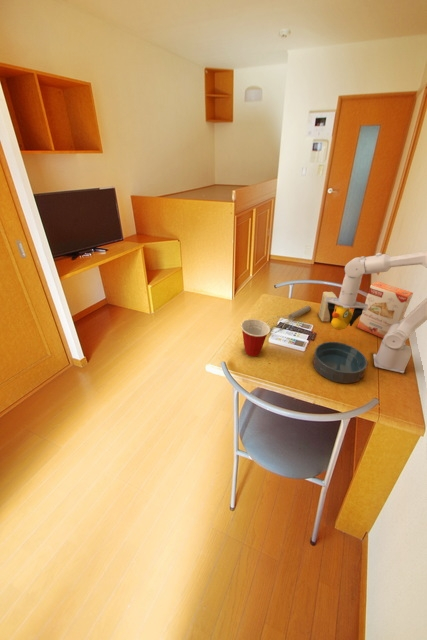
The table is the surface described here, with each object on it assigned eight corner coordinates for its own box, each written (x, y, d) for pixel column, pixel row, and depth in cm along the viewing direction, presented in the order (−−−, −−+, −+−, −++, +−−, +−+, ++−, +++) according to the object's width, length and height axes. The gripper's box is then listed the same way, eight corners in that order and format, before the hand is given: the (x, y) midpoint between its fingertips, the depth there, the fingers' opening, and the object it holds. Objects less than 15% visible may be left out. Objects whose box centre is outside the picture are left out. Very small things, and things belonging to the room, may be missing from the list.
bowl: (362, 358, 109) (366, 348, 106) (364, 389, 95) (368, 378, 93) (314, 348, 114) (317, 337, 112) (310, 376, 101) (312, 365, 98)
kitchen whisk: (316, 311, 139) (318, 299, 136) (272, 339, 120) (274, 326, 116) (305, 306, 143) (307, 295, 139) (261, 333, 123) (262, 320, 120)
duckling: (334, 336, 108) (340, 313, 103) (322, 329, 112) (328, 306, 107) (353, 327, 113) (360, 305, 108) (341, 321, 117) (348, 299, 112)
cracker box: (356, 328, 127) (370, 284, 116) (362, 323, 130) (376, 280, 119) (389, 342, 118) (408, 296, 107) (395, 336, 121) (414, 291, 110)
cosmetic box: (331, 322, 131) (337, 297, 124) (322, 321, 131) (327, 297, 124) (327, 314, 136) (333, 291, 130) (317, 314, 136) (323, 291, 130)
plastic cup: (262, 364, 106) (266, 337, 99) (235, 356, 110) (236, 330, 103) (270, 348, 114) (274, 322, 108) (244, 341, 118) (246, 315, 112)
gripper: (327, 292, 104) (320, 324, 111) (372, 299, 99) (361, 332, 106) (328, 284, 109) (321, 315, 116) (370, 290, 105) (360, 322, 112)
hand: (340, 322), depth 112 cm, fingers closed on duckling, 7 cm apart
